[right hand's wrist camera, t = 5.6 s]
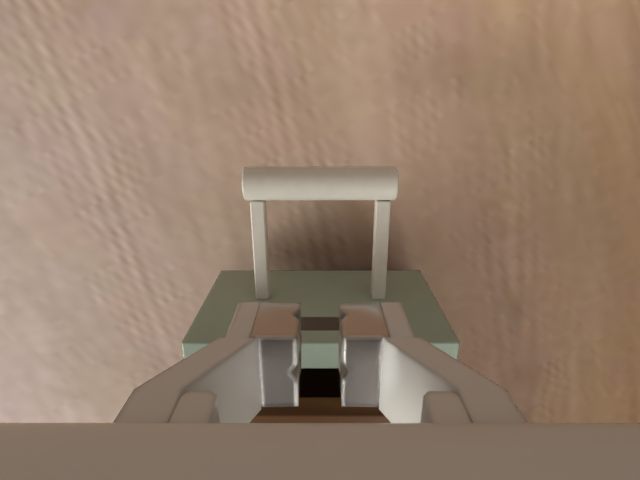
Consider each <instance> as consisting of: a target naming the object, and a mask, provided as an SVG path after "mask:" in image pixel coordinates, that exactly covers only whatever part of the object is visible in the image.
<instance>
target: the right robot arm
mask: <svg viewBox="0 0 640 480" xmlns="http://www.w3.org/2000/svg"><path fill="white" fill-rule="evenodd" d="M338 363H339V373H340V394H341V406H346V407H379V410H380V411H381V412H382V413H383V414H384V416H385V417H386V418H387V419H388V420H389V421H390V422H391V423H250V422H251V420H252V419H253V418H254V417H255V416H256V415H257V414H258V413H259V411H260V410H261V407H293V406H299V395H300V373H301V364H302V335H301V303H273V302H261V303H260V302H241V303H239V304H238V306H237V309H236V312H235V314H234V317H233V319H232V322H231V324H230V327H229V330H228V332H227V335H226V337H221V338H218V339H216V340H215V341H213V342H211V343H210V344H208V345H206V346H205V347H203V348H201V349H200V350H198V351H196V352H195V353H193V354H192V355H190V356H188V357H187V358H185V359H183V360H182V361H180V362H178V363H177V364H175V365H173V366H172V367H170V368H168V369H167V370H165V371H164V372H162V373H160V374H159V375H157V376H155V377H154V378H152V379H150V380H149V381H147V382H145V383H144V384H142V385H140V386H139V387H137V388H136V389H134V390H133V392H132V393H131V395H130V397H129V398H128V400H127V401H126V403H125V405H124V406H123V408H122V409H121V411H120V413H119V414H118V416H117V417H116V419H115V420H114V422H113V423H0V480H640V423H527V422H526V420H525V419H524V417H523V415H522V414H521V412H520V411H519V409H518V407H517V406H516V404H515V403H514V401H513V399H512V398H511V396H510V395H509V393H508V391H507V390H506V389H504V388H503V387H501V386H499V385H498V384H496V383H494V382H493V381H491V380H489V379H488V378H486V377H485V376H483V375H481V374H480V373H478V372H476V371H475V370H473V369H471V368H470V367H468V366H466V365H465V364H463V363H462V362H460V361H458V360H457V359H455V358H453V357H452V356H450V355H448V354H447V353H445V352H443V351H442V350H440V349H439V348H437V347H435V346H434V345H432V344H430V343H429V342H427V341H425V340H424V339H422V338H419V337H414V335H413V332H412V330H411V327H410V324H409V322H408V319H407V317H406V314H405V312H404V309H403V307H402V304H401V303H400V302H382V303H380V302H367V303H340V304H339V335H338Z"/></svg>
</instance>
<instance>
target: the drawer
mask: <svg viewBox="0 0 640 480" xmlns="http://www.w3.org/2000/svg"><path fill="white" fill-rule="evenodd" d="M398 188H399V175H398V170H397V167H244V169H243V172H242V192H243V196H244V199H245V200H251V201H250V214H251V229H252V245H253V260H254V271H221V272H220V274H219V276H218V278H217V280H216V281H215V283H214V285H213V287H212V289H211V290H210V292H209V294H208V296H207V298H206V299H205V301H204V303H203V305H202V307H201V309H200V310H199V312H198V314H197V316H196V318H195V319H194V321H193V323H192V325H191V327H190V328H189V330H188V332H187V334H186V336H185V338H184V339H183V341H182V350H183V357H184V359H185V358H187V357H188V356H190V355H192V354H193V353H195V352H196V351H198V350H200V349H201V348H203V347H205V346H206V345H208V344H210V343H211V342H213V341H215V340H216V339H218V338H221V337H226V335H227V332H228V330H229V327H230V324H231V322H232V319H233V317H234V314H235V312H236V309H237V306H238V304H239V303H241V302H260V303H261V302H273V303H301V335H302V364H301V373H300V395H299V397H341V394H340V373H339V363H338V335H339V304H340V303H367V302H380V303H382V302H400V303H401V304H402V307H403V309H404V312H405V314H406V317H407V319H408V322H409V324H410V327H411V330H412V332H413V335H414V337H419V338H422V339H424V340H425V341H427V342H429V343H430V344H432V345H434V346H435V347H437V348H439V349H440V350H442V351H443V352H445V353H447V354H448V355H450V356H452V357H453V358H455V359H458V352H459V345H460V342H459V340H458V338H457V337H456V335H455V333H454V331H453V329H452V328H451V326H450V324H449V322H448V320H447V319H446V317H445V315H444V313H443V311H442V310H441V308H440V306H439V304H438V302H437V301H436V299H435V297H434V295H433V293H432V292H431V290H430V288H429V286H428V284H427V283H426V281H425V279H424V277H423V275H422V273H421V272H420V271H419V270H387V260H388V243H389V226H390V209H391V201H390V200H395V199H396V198H397V195H398ZM266 200H375V207H374V229H373V251H372V270H371V271H269V254H268V234H267V214H266Z"/></svg>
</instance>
